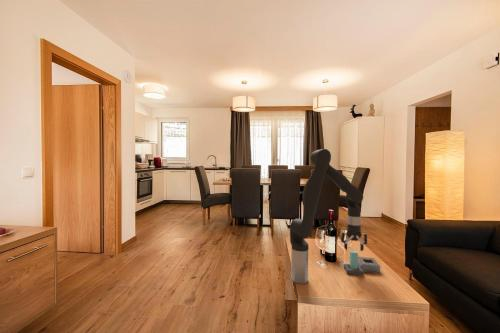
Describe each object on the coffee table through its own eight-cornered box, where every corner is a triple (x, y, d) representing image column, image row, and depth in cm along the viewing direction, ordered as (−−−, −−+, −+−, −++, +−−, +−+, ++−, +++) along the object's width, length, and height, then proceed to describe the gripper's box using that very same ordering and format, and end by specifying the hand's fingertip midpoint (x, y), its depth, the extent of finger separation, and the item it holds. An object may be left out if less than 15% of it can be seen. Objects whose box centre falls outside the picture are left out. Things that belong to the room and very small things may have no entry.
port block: (379, 273, 142) (380, 265, 142) (361, 271, 144) (362, 263, 144) (373, 265, 154) (373, 257, 154) (356, 263, 156) (357, 255, 156)
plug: (357, 273, 142) (357, 253, 142) (350, 272, 142) (351, 252, 142) (355, 270, 145) (356, 251, 145) (349, 270, 146) (349, 250, 146)
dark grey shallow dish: (363, 275, 138) (363, 271, 138) (347, 274, 140) (347, 270, 140) (359, 269, 147) (359, 265, 147) (344, 267, 149) (344, 263, 149)
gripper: (342, 224, 141) (342, 251, 141) (368, 225, 139) (368, 253, 139) (340, 221, 149) (340, 247, 149) (364, 222, 146) (364, 248, 146)
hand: (353, 250), depth 144 cm, fingers open, 8 cm apart
